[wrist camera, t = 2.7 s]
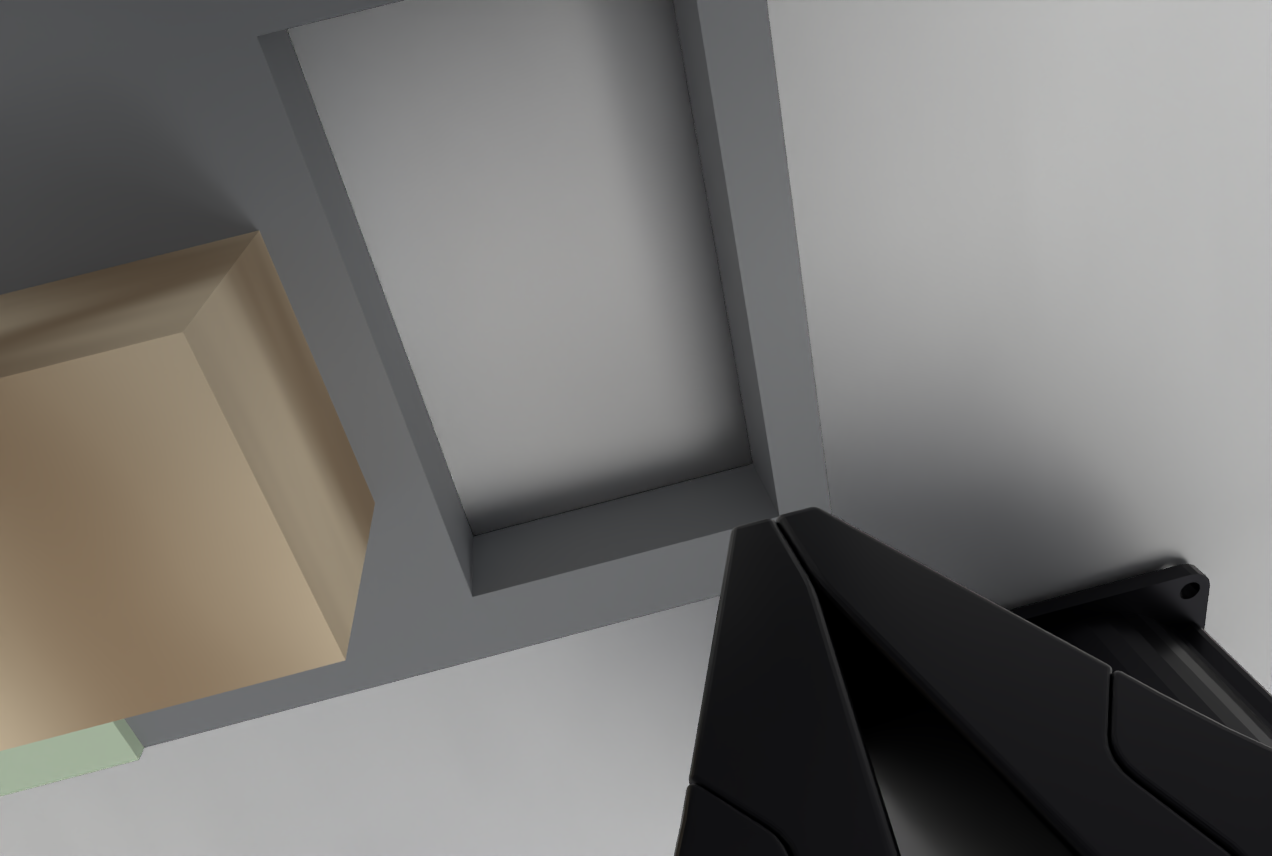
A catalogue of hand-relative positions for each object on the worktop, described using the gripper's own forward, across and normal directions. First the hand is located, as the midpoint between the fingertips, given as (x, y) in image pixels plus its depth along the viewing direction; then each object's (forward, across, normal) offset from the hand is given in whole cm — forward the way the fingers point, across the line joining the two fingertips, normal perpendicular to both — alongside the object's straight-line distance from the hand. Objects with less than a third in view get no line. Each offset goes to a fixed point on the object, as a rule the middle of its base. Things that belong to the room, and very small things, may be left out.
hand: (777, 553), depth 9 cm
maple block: (+7, +8, 0) cm, 11 cm away
